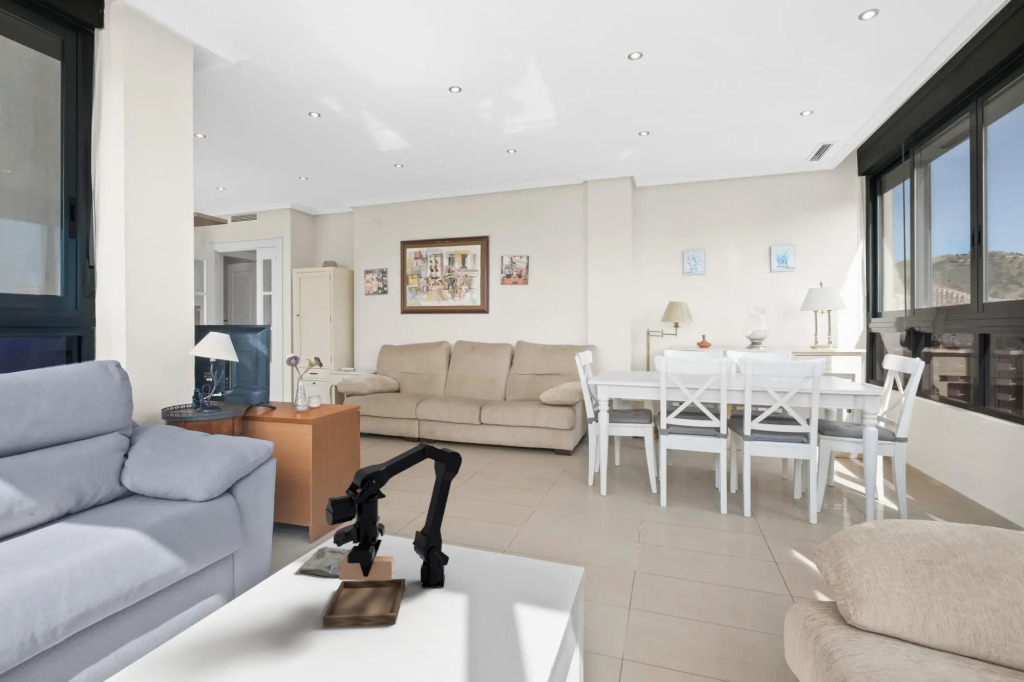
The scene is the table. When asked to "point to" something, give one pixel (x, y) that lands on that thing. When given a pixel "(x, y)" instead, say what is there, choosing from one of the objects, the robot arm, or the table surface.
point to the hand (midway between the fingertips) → (367, 573)
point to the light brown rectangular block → (379, 570)
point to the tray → (365, 603)
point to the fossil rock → (324, 562)
